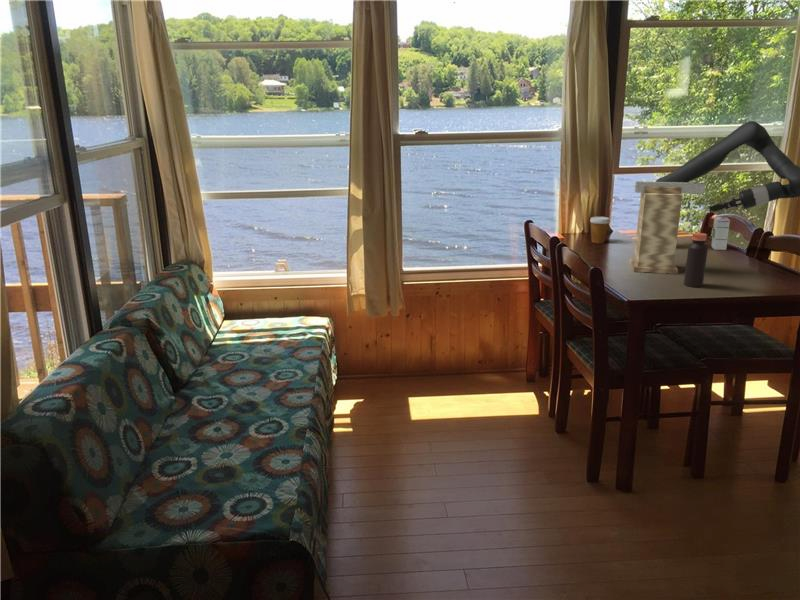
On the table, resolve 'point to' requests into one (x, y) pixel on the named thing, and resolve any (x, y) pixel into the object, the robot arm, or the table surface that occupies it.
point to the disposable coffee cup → (599, 229)
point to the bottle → (696, 261)
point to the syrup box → (720, 233)
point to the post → (657, 230)
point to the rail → (686, 186)
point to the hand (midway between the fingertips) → (711, 209)
